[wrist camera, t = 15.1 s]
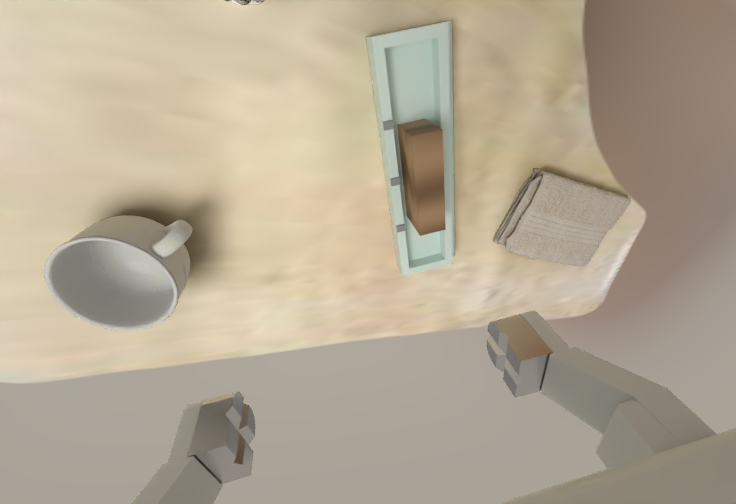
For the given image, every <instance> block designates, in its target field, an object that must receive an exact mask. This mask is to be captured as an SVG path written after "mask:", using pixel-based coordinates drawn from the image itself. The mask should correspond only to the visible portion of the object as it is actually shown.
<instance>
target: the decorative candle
mask: <svg viewBox="0 0 736 504" xmlns="http://www.w3.org/2000/svg"><path fill="white" fill-rule="evenodd" d="M225 1H231V2H233V3H235V4H238V5H250V4H260V3H262V2H263V1H265V0H225Z"/></svg>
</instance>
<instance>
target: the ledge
mask: <svg viewBox="0 0 736 504" xmlns="http://www.w3.org/2000/svg"><path fill="white" fill-rule="evenodd" d="M366 41H367V49H368V56H369V63H370V70H371V77H372V85H373V92H374V99H375V106H376V114H377V121H378V128H379V135H380V142H381V150H382V157H383V164H384V171H385V179H386V186H387V193H388V200H389V207H390V215H391V222H392V229H393V236H394V244H395V251H396V258H397V265H398V267H399V270H400V272H401V274H402V276H406V275H410V274H414V273H418V272H422V271H426V270H430V269H434V268H437V267H441V266H445V265H449V264H453V258H452V256H454V255H455V239H454V162H453V85H452V21H445V22H440V23H435V24H430V25H425V26H420V27H415V28H410V29H405V30H400V31H395V32H390V33H385V34H380V35H375V36H370V37H366ZM421 119H426V120H428V121H429V122H431V123H433V124H434V125H436V126H438V127H440V128H441V129H443V158H444V191H445V224H446V230H442V231H438V232H434V233H430V234H426V235H422V236H420V235H419V234H418V232H417V231H416V229H415V228H414V226H413V225H412V223H411V222H410V220H409V219H408V217H407V213H406V203H405V194H404V184H403V175H402V165H401V156H400V146H399V137H398V128H397V125H398V124H403V123H407V122H412V121H416V120H421Z"/></svg>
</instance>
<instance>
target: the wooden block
mask: <svg viewBox="0 0 736 504" xmlns="http://www.w3.org/2000/svg"><path fill="white" fill-rule="evenodd" d="M397 128H398V137H399V146H400V156H401V165H402V175H403V184H404V194H405V203H406V213H407V217H408V219H409V220H410V222H411V223H412V225H413V226H414V228H415V229H416V231H417V232H418V234H419V235H420V236H422V235H426V234H430V233H434V232H438V231H442V230H446V224H445V191H444V158H443V129H441V128H440V127H438V126H436V125H434V124H433V123H431V122H429V121H428V120H426V119H421V120H416V121H412V122H407V123H403V124H398V125H397Z"/></svg>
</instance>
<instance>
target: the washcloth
mask: <svg viewBox="0 0 736 504" xmlns="http://www.w3.org/2000/svg"><path fill="white" fill-rule="evenodd" d="M630 202H631V200H630V198H629V197H628V196H627V195H622V194H618V193H616V192H615V191H614V192H611V191H609V190H604V189H601V188H598V187H595V186H592V185H589V184H587V183H581V182H577V181H573V180H571V179H568V178H566V177H562V176H558V175H557V174H554V173H551V172H548V171H543V170H541V169H536V168H534V169H533V174H532V177H530V178H528V180H527V181H526V182H525V183H524V184H523V186H522V187H521V188H520V190H519V192H518V194H517V195H516V197H515V199H514V201H513V203H512V205H511V207H510V209H509V211H508V213H507V214H506V216H505V217H504V219H503V221H502V223H501V225H500V226H499V228H498V230H497V232H496V234H495V236H494V239H493V242H496V243H497V244H502V245H505V246H506V250H507V251H509V252H511V253H517V254H520V255H523V256H526V257H528V258H530V259H538V260H545V261H550V262H555V263H561V264H562V263H564V264H569V265H574V266H586V265H587V263H589V261H590V259H591V257H592V256H593V255H594V253H595V251H597V249H598V247H599V244H600V243H601V241H602V240H603V238H604V236H605V235H606V232H607V231H608V230H610V229H612V227H613V226H614V225H615V223H616V222H617V221H618V219H619V218H620V217H621V215H622V214H623V212H624V211H625V210H626V208H627V206H628V205H629V204H630Z"/></svg>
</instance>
